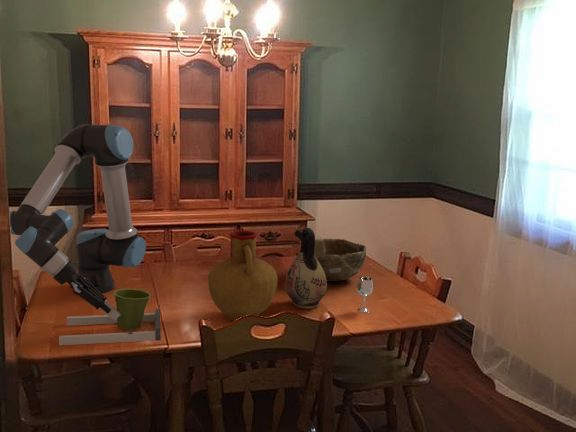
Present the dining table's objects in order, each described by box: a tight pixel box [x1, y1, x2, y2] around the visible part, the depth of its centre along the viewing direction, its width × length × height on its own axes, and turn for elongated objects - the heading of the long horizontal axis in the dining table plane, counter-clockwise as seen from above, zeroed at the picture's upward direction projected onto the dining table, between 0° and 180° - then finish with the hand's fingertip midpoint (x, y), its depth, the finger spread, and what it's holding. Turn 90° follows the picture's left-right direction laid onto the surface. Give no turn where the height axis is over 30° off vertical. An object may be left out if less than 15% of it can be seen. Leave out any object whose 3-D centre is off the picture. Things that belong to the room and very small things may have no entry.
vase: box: [207, 230, 278, 321], centre depth 214 cm, size 24×24×30 cm
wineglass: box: [356, 276, 374, 313], centre depth 226 cm, size 6×6×12 cm
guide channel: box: [58, 308, 161, 346], centre depth 201 cm, size 30×18×4 cm, turn 101°
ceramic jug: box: [284, 227, 328, 310], centre depth 228 cm, size 17×15×30 cm
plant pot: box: [113, 288, 152, 331], centre depth 204 cm, size 12×12×11 cm
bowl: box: [314, 238, 367, 282], centre depth 261 cm, size 28×27×15 cm
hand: (117, 317), depth 200 cm, fingers closed
